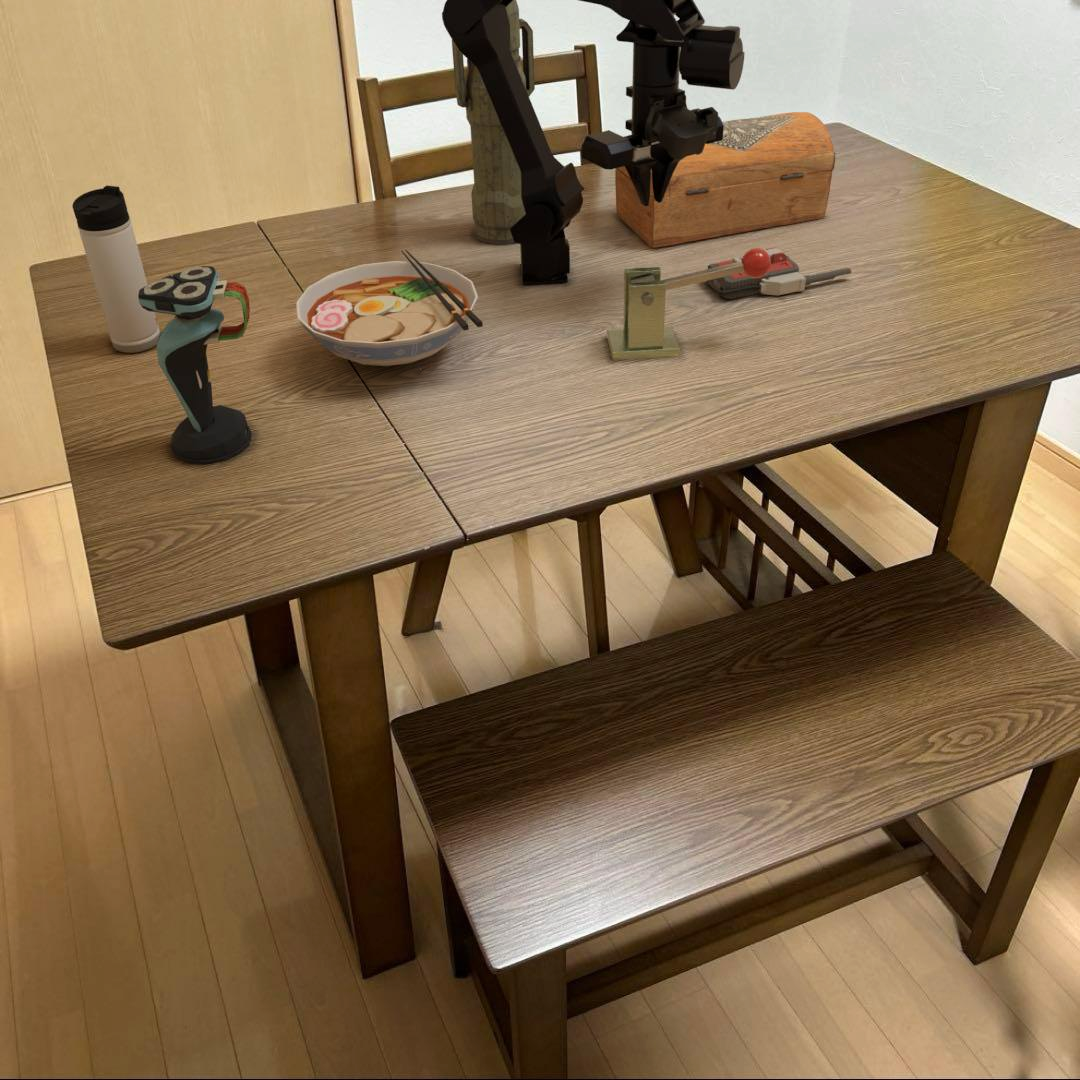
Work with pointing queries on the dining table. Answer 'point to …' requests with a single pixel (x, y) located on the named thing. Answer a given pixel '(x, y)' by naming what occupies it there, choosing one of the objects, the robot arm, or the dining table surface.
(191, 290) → the electric shaver
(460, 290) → the ramen bowl
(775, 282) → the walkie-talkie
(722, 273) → the switch lever
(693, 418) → the dining table surface
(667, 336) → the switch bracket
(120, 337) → the travel mug
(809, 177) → the wooden box
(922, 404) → the dining table surface
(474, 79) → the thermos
